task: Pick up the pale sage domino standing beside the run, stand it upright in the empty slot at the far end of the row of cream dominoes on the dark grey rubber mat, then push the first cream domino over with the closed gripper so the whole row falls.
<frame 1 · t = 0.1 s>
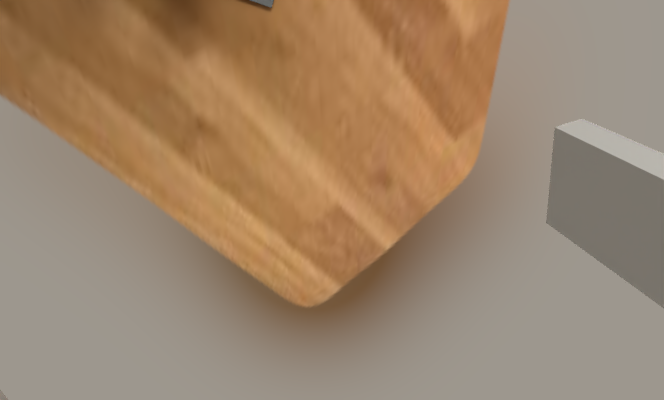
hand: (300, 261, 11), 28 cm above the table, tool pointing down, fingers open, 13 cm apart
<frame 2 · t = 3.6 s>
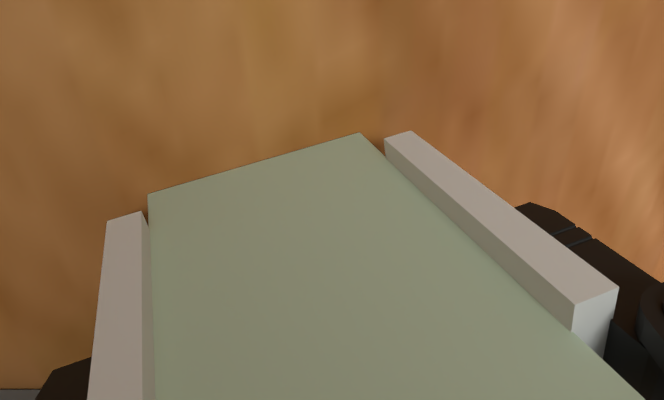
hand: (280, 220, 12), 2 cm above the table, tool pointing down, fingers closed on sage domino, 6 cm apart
sage domino: (264, 186, 14), on the table, touching gripper
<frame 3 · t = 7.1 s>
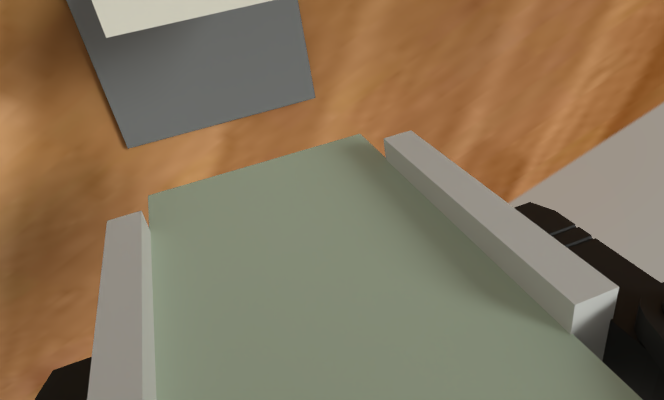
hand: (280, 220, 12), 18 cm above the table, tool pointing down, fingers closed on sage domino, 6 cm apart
sage domino: (265, 188, 14), point 16 cm above the table, touching gripper
when the fingers open (3 cm above the table, at t = 10.8 s): sage domino stays where it is, resting on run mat.
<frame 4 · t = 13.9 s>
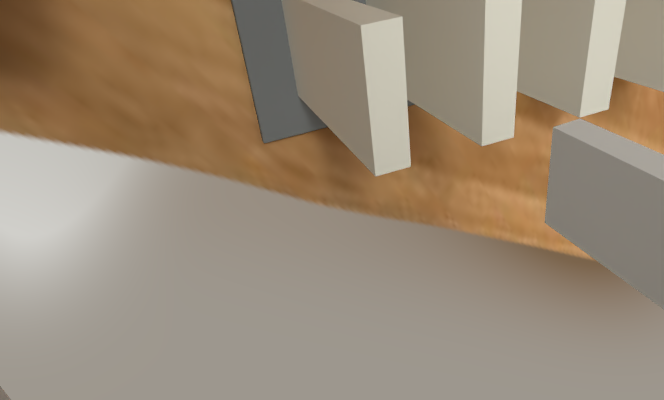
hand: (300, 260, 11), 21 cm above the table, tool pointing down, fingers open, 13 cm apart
domino 1: (302, 43, 29), resting on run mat
domino 3: (454, 9, 31), resting on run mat
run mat: (450, 8, 31), on the table
domino 2: (380, 26, 30), resting on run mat
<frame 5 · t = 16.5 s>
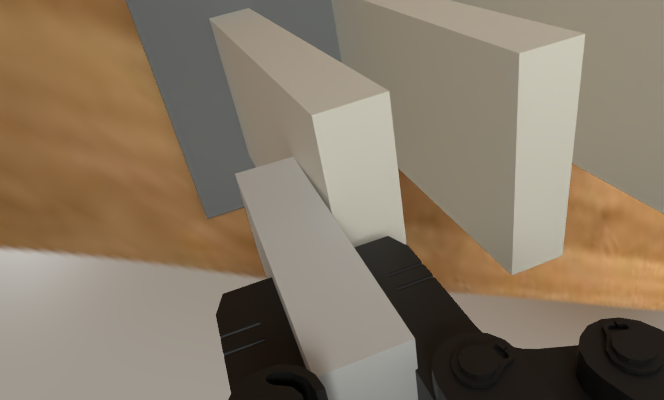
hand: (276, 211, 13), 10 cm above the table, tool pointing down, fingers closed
domino 1: (249, 86, 21), point 1 cm above the table, touching gripper, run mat
domino 3: (460, 27, 23), resting on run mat
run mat: (454, 25, 23), on the table
domino 2: (358, 56, 22), resting on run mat
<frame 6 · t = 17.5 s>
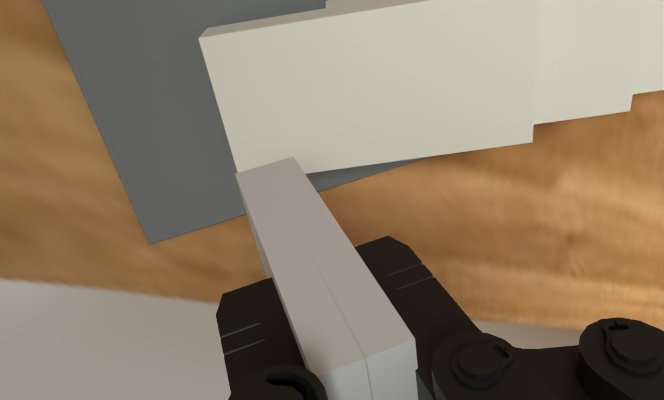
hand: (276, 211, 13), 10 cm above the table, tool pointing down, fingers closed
domino 1: (224, 108, 20), point 1 cm above the table, tilted 71°, touching domino 2
domino 3: (444, 49, 22), point 1 cm above the table, tilted 71°, touching domino 2, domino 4, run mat
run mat: (404, 50, 23), on the table
domino 2: (337, 78, 21), point 1 cm above the table, tilted 71°, touching domino 1, domino 3, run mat
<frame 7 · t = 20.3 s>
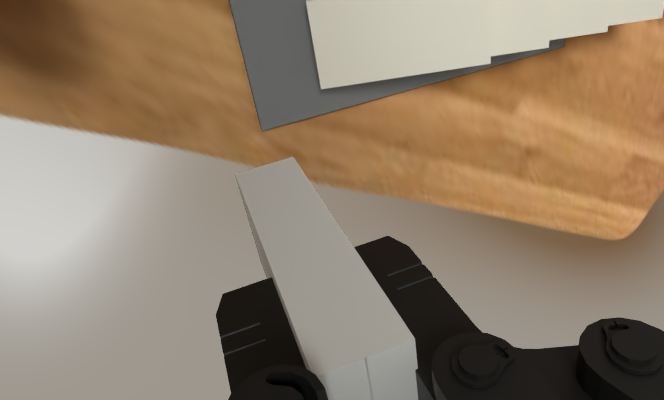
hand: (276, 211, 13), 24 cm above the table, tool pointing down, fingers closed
domino 1: (314, 44, 34), point 1 cm above the table, tilted 71°, touching domino 2
domino 3: (440, 12, 37), point 1 cm above the table, tilted 71°, touching domino 2, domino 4, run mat
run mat: (416, 14, 37), on the table
domino 2: (377, 28, 36), point 1 cm above the table, tilted 71°, touching domino 1, domino 3, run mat
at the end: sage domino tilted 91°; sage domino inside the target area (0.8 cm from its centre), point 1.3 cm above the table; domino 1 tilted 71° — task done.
